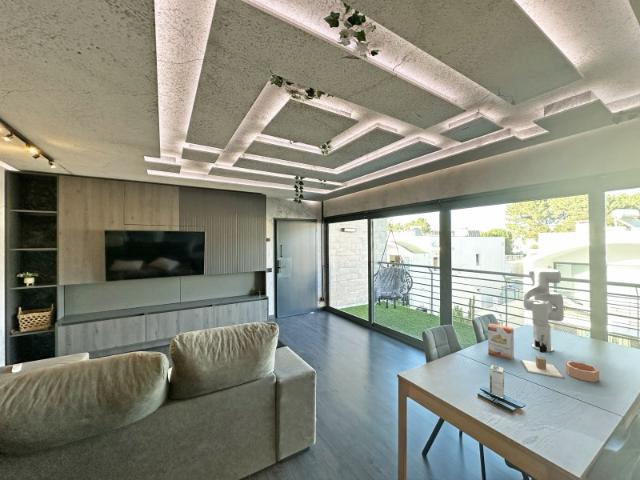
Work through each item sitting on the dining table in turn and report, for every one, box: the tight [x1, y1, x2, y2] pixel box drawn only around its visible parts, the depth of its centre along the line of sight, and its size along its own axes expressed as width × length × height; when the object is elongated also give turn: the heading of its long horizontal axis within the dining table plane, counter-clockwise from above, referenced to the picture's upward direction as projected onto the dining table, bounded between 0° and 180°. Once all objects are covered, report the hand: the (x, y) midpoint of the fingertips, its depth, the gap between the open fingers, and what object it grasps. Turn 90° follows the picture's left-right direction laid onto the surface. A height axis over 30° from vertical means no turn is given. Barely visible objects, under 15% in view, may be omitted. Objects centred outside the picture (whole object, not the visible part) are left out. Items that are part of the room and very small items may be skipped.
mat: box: [519, 359, 566, 380], centre depth 162 cm, size 18×18×1 cm
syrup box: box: [489, 364, 505, 398], centre depth 136 cm, size 6×6×14 cm
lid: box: [521, 355, 564, 379], centre depth 162 cm, size 16×16×7 cm
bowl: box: [565, 360, 600, 383], centre depth 153 cm, size 13×13×6 cm
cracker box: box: [487, 323, 515, 360], centre depth 182 cm, size 14×6×21 cm, turn 37°
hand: (540, 349), depth 161 cm, fingers open, 9 cm apart
